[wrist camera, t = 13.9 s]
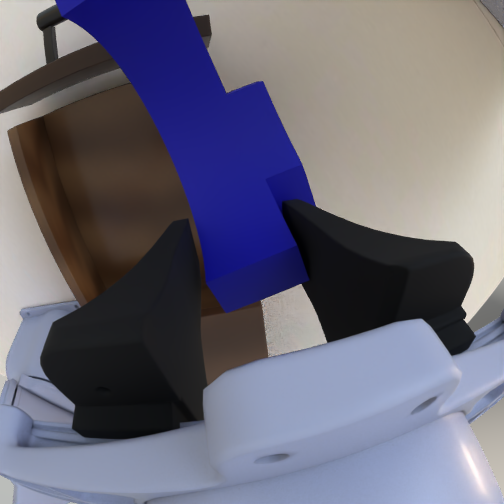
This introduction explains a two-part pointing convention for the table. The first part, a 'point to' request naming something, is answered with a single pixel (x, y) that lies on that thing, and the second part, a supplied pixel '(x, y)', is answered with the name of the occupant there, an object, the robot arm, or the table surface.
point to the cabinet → (232, 338)
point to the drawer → (96, 169)
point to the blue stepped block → (210, 144)
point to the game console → (496, 9)
